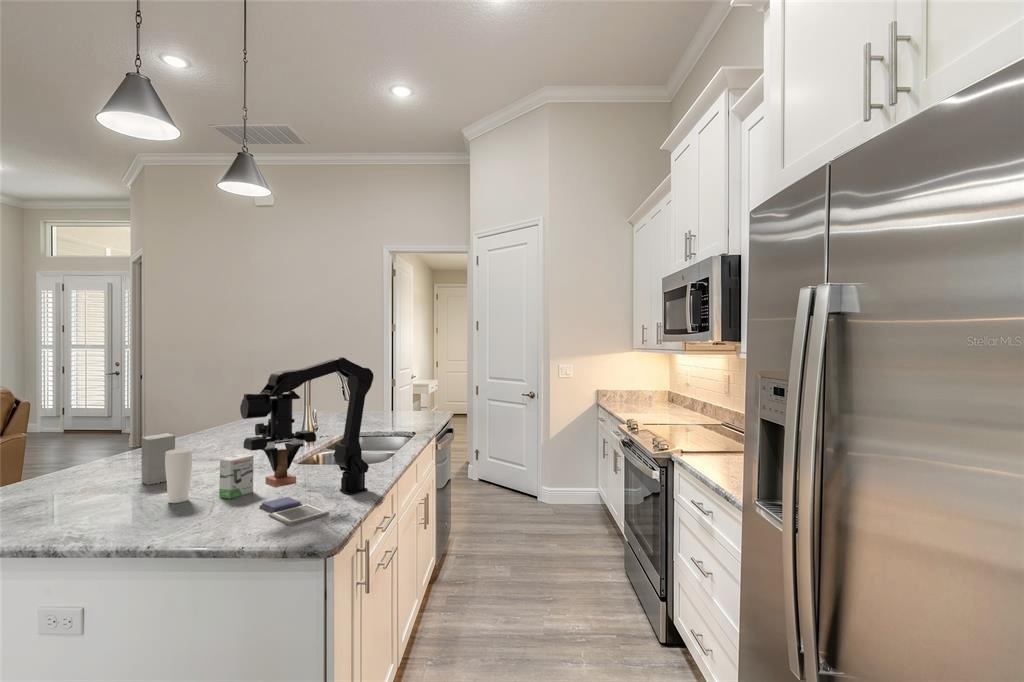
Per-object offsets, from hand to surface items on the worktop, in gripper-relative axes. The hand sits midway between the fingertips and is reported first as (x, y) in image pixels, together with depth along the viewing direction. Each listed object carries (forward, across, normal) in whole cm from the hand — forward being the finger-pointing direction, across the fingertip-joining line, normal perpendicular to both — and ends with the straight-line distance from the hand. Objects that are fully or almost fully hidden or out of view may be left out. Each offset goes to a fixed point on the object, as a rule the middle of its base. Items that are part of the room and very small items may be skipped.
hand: (281, 469), depth 145 cm
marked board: (+11, 0, +10) cm, 15 cm away
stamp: (+4, 0, 0) cm, 4 cm away
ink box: (+11, +3, -23) cm, 26 cm away
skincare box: (+11, +14, -59) cm, 62 cm away
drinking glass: (+11, +17, -29) cm, 35 cm away
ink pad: (+11, 0, 0) cm, 11 cm away
